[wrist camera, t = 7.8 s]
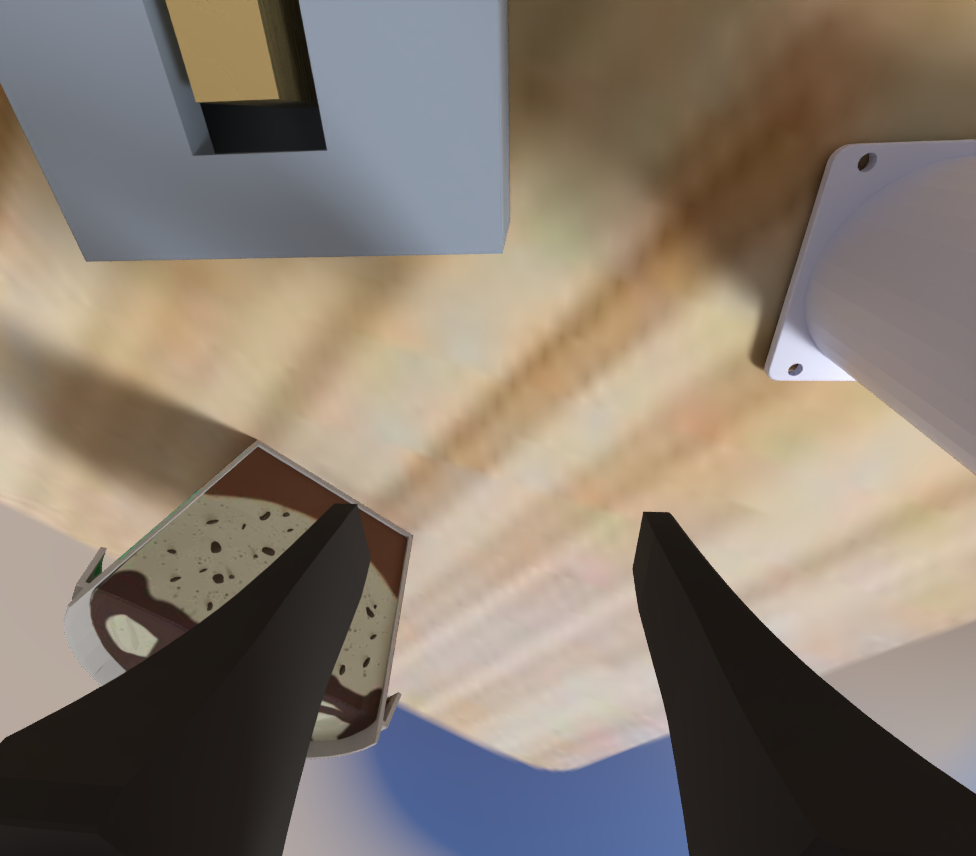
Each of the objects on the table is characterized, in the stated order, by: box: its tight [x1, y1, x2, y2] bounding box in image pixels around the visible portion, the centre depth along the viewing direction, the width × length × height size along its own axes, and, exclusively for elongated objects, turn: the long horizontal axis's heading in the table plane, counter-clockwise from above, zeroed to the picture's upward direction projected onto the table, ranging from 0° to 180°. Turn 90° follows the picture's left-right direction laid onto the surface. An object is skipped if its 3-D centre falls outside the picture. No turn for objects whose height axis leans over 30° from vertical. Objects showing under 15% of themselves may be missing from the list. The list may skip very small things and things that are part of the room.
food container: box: [64, 440, 413, 759], centre depth 22 cm, size 12×6×10 cm, turn 50°
